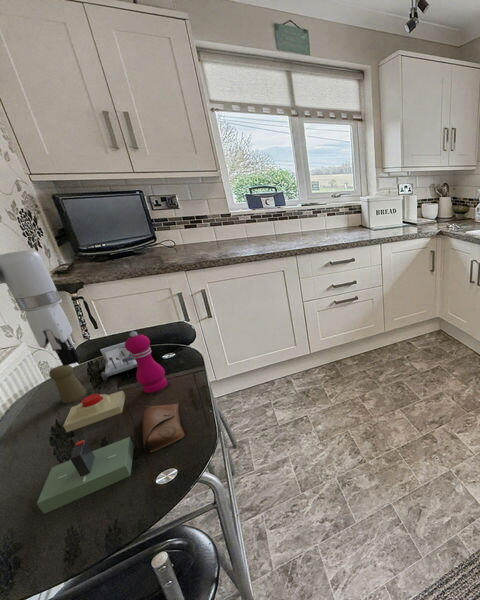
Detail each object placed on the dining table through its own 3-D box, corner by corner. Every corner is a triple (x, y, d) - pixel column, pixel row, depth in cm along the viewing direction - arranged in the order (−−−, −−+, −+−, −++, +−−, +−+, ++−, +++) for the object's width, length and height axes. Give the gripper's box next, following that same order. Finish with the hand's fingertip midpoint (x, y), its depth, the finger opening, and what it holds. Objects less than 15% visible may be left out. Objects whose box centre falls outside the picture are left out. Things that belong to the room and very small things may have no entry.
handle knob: (90, 472, 70) (79, 454, 68) (80, 476, 69) (69, 458, 67) (95, 456, 74) (85, 438, 72) (85, 460, 74) (75, 442, 72)
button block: (66, 432, 88) (59, 420, 86) (74, 413, 96) (68, 402, 94) (122, 412, 94) (116, 401, 93) (125, 396, 102) (120, 385, 100)
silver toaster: (135, 346, 112) (91, 359, 106) (145, 370, 116) (104, 385, 109) (133, 331, 125) (94, 342, 119) (143, 353, 129) (105, 365, 122)
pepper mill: (145, 397, 100) (119, 339, 93) (140, 388, 105) (115, 333, 98) (171, 385, 105) (149, 329, 98) (166, 377, 110) (144, 324, 103)
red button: (82, 409, 91) (79, 404, 90) (85, 402, 94) (82, 397, 94) (100, 403, 93) (98, 398, 92) (103, 396, 96) (100, 391, 96)
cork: (59, 399, 104) (43, 369, 100) (84, 388, 108) (69, 360, 104) (64, 405, 100) (47, 374, 96) (89, 394, 105) (74, 364, 101)
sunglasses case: (187, 434, 82) (163, 423, 78) (163, 459, 80) (137, 448, 76) (179, 402, 95) (158, 391, 91) (158, 422, 93) (136, 411, 89)
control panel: (43, 514, 65) (36, 503, 64) (58, 477, 74) (51, 466, 72) (130, 475, 72) (125, 465, 71) (134, 446, 81) (129, 436, 80)
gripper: (28, 297, 86) (60, 357, 93) (7, 312, 75) (45, 380, 81) (66, 289, 90) (94, 348, 97) (51, 303, 78) (84, 368, 85)
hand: (71, 362), depth 89 cm, fingers closed
